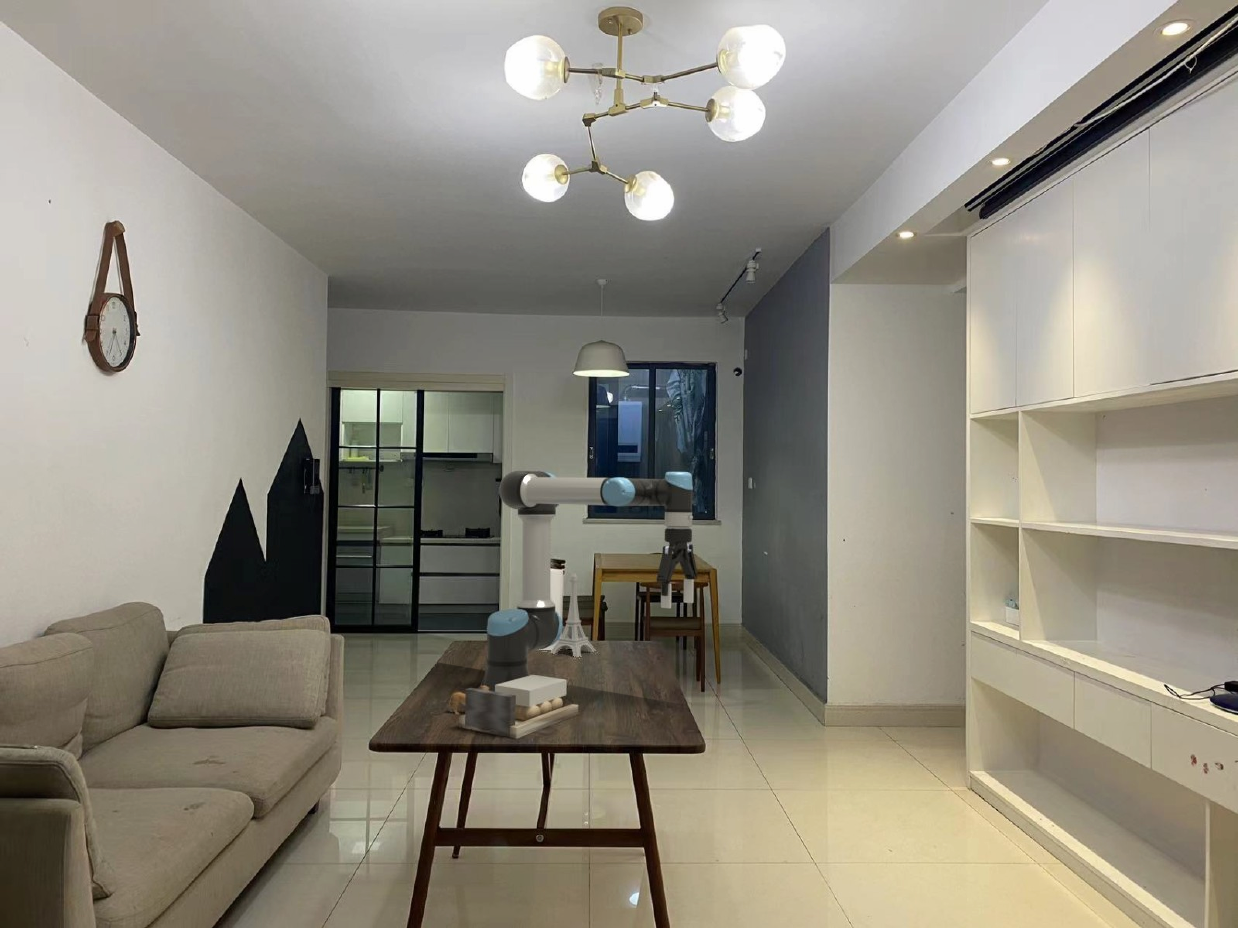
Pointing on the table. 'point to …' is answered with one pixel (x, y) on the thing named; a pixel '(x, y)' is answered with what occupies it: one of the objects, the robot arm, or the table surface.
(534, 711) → the roller front
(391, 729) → the table surface
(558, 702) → the roller rear
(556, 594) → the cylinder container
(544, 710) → the roller mid
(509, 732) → the track
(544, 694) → the slab
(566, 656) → the table surface
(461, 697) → the lion figurine
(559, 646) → the eiffel tower
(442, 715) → the table surface
